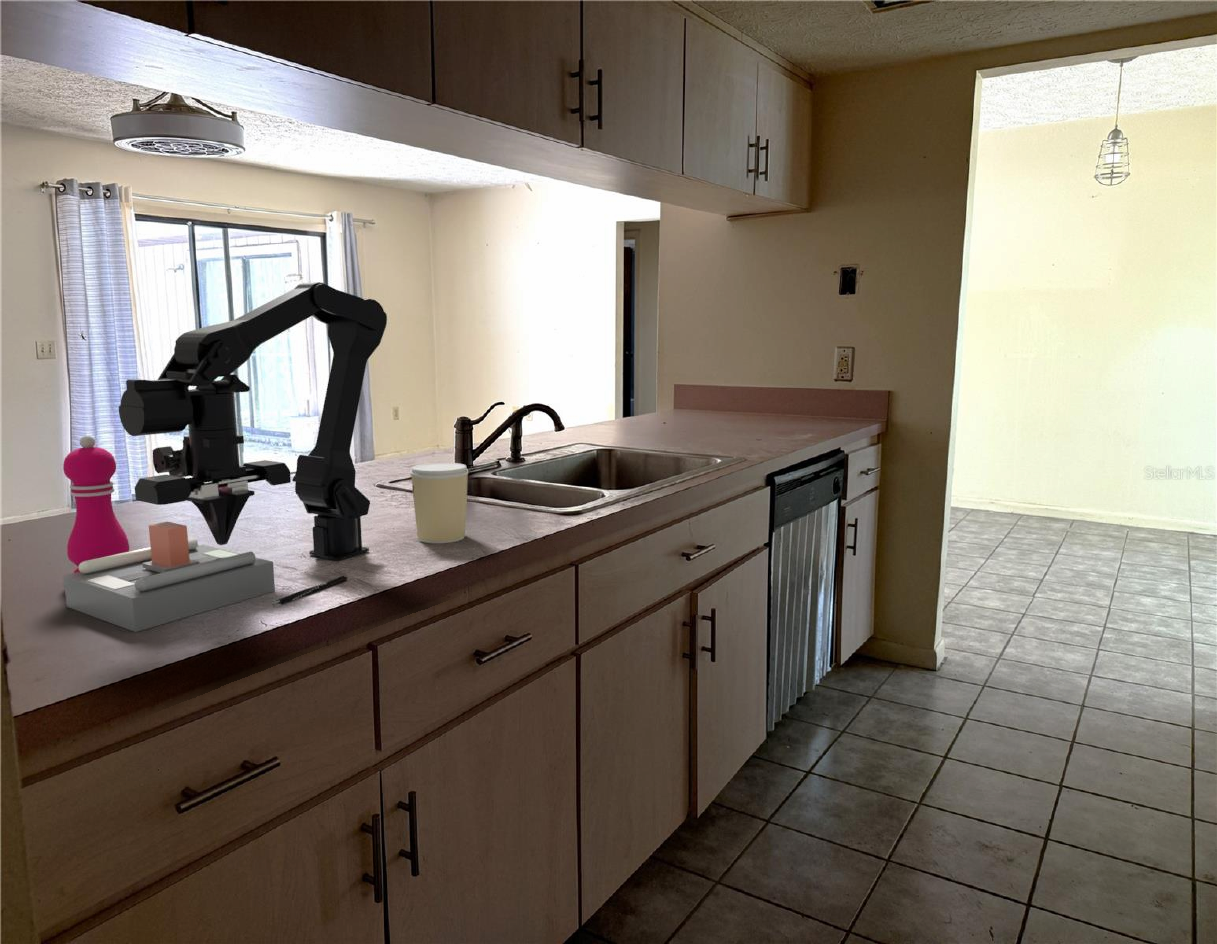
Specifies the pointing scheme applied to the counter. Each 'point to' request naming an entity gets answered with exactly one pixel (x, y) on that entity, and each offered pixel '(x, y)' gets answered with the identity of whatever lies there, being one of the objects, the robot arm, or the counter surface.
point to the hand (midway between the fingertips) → (222, 544)
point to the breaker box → (165, 586)
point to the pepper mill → (93, 504)
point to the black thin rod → (309, 591)
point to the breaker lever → (168, 547)
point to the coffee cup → (440, 501)
